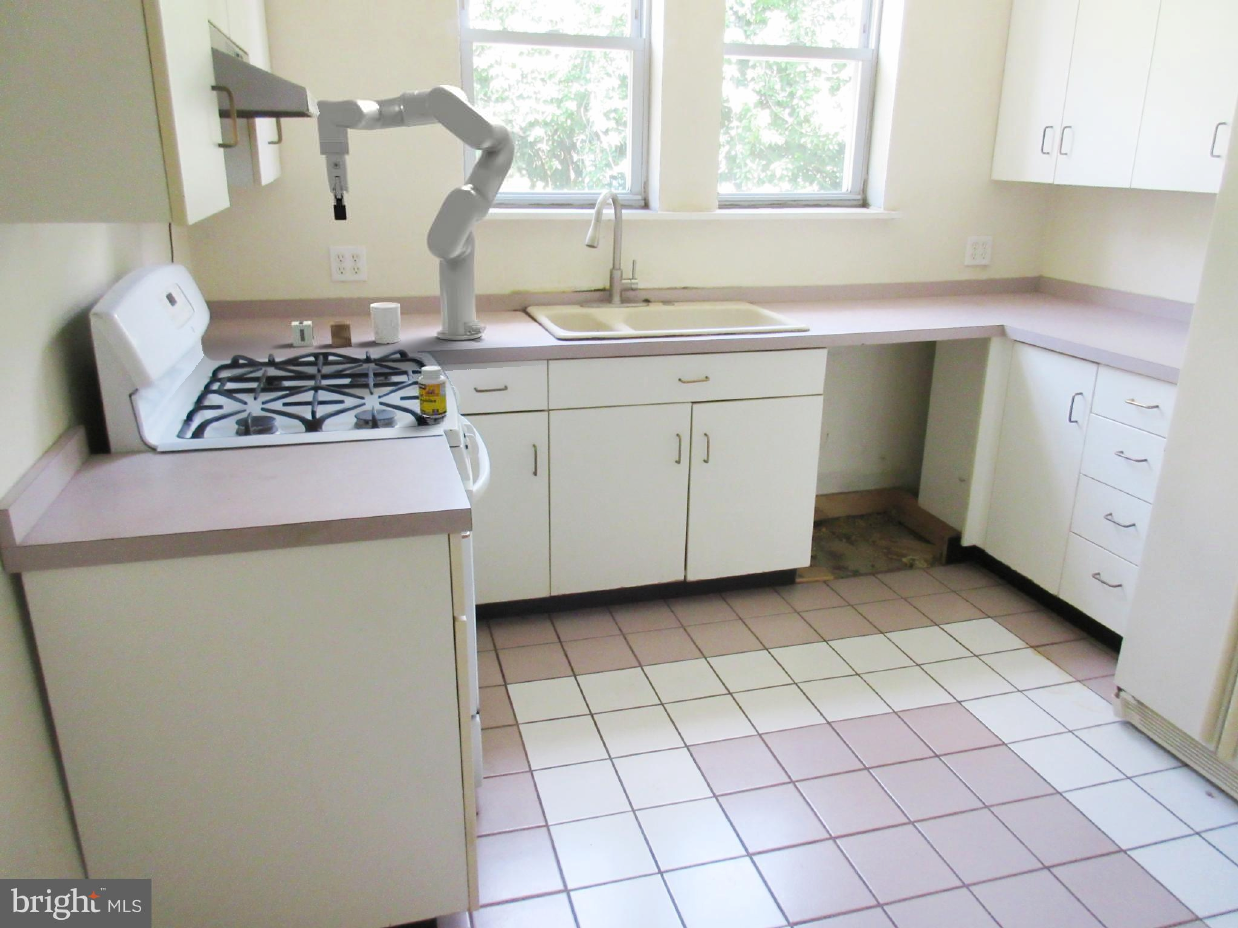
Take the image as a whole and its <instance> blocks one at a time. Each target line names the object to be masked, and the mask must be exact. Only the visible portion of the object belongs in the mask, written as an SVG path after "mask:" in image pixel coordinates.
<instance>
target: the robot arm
mask: <svg viewBox="0 0 1238 928" xmlns="http://www.w3.org/2000/svg"><path fill="white" fill-rule="evenodd" d="M316 103H317V106H318V109H319V112H320V114H319V115H318V117H317V116H316V122H317V131H318V132H317V133H318V142H319V143H318V144H319V152H320V154H319V155H320V156H324V157H325V168H326V175H327V181H328V188H329V191H330V193H331V194H332V195H333V213H334V214H333V215H334V217H333V218H334V220H335V221H347V220H348V215H347V206H346V204H345V193H344V192H346V194H349V193H350V187H349V173H348V163H347V158H346V156H350V145H349V136H348V135H349V133H348V129H349V130H358V131H363V130H364V131H377V130H384V129H385V130H386V129H394V128H403V127H407V128H409V127H416V126H418V127H419V126H426V125H435V124H437V125H438V124H440V125H441V126H442V127H444V129H446V130H447V131H449V132H450V133H451V134H452V135H454V136H455V137H456V138H457V139H459V140H460V141H461V142H462V143H463V144H465V145H466V146H468V147H469V148H472V149H473V150H475V151H476V150H478V151H481V154H480V157H479V158H478V159H477V161H476V163H475V164H474V166H473V168H472V170H471V172H470V174H469V176H468V177H467V179H466V181H465V183H464V184H463V185H461V186H458V187H455V188H454V189H452V190H451V191H450V192H449V193H448V195H447V196H446V197H445V199H444V201H443V202H442V204H441V206H440V208H439V210H438V213H436V216H435V218H434V220H433V221H432V223H431V226H430V227H429V230H428V232H427V235H426V236H427V237H426V246H427V248H428V251H429V253H430V254H431V255H432V256H433V257H434V258H436V259H438V260H439V264H438V267H439V268H438V276H439V278H438V279H439V296H440V297H439V298H440V300H439V301H440V313H441V315H440V317H441V329H440V330H437V331H436V337H437V338H439V339H441V340H448V341H465V340H474V339H478V338H480V337H482V336H483V334H484V333H485V331H486V330H487V327H486V325H480V320H479V319H477V314H476V311H477V310H476V290H475V288H476V287H475V254H476V253H475V250H476V238H475V234H474V231H473V226H474V225H475V223H477V222H479V221H481V220H483V219H484V218H485V217H486V216H487V215H488V213H489V211H490V209H491V207H492V205H493V203H494V200H495V199H496V197H497V195H498V194H499V191H500V189H501V187H502V185H503V183H504V181H505V179H506V177H507V175H508V174H509V171H510V170H511V167H512V165H513V161H514V156H515V144H514V139H513V136H512V134H511V132H510V130H509V128H508V127H507V125H506V124H505V122H503V121H502V120H501V119H499V118H498V117H495V116H492V115H486V114H485V115H484V114H483V113H481V112H480V111H479V110H477V109H476V108H475V107H474V106H472V105H471V104H470V103H469V100H468V97H467V95H466V93H465V92H464V91H463V90H461V89H460V88H459V87H456V86H451V85H445V84H444V85H442V84H440V85H437V86H435V87H433V88H431V89H429V88H427V89H420V90H408V91H404V92H402V93H401V94H400V95H399V96H396V97H392V98H391V97H390V98H382V99H373V100H372V99H370V100H367V99H357V98H350V99H342V100H338V99H337V100H336V99H321V100H318V101H317V102H316Z"/></svg>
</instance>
